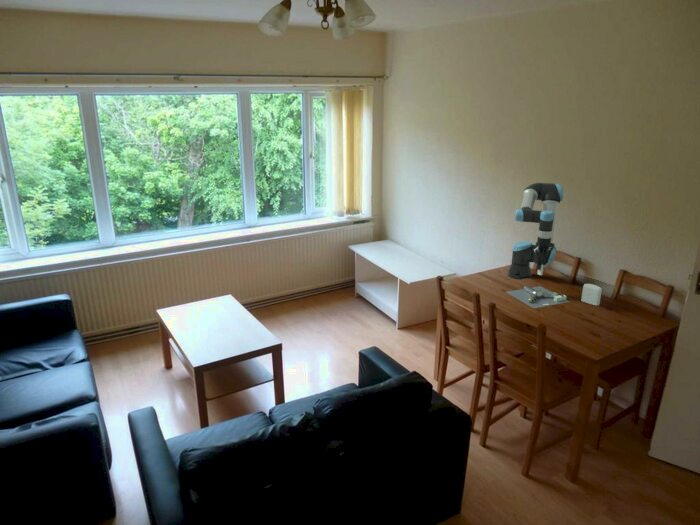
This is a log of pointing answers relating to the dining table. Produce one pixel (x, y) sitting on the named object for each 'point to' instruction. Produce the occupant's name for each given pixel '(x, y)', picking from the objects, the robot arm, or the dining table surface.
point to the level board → (538, 302)
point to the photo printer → (591, 294)
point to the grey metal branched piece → (538, 293)
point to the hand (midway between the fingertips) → (539, 274)
